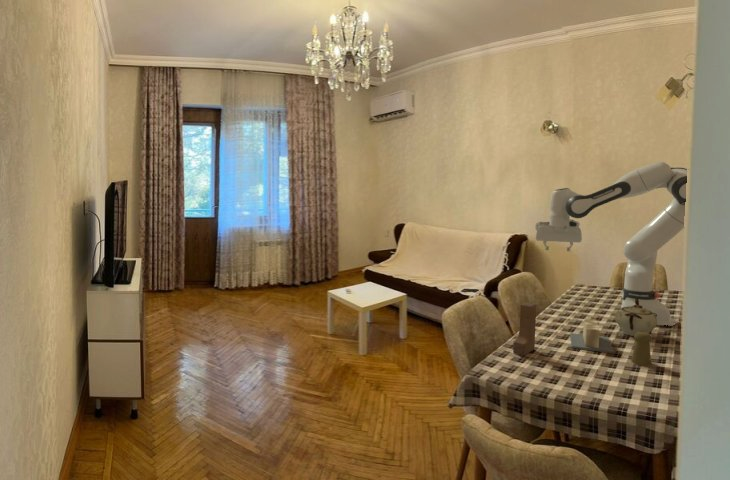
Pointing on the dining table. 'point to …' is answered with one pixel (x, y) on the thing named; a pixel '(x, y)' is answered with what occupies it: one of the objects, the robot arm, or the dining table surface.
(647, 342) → the olive peg figure
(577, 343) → the grey mat
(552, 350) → the dining table surface
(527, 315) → the wooden block
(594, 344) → the pine block
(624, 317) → the sugar bowl
